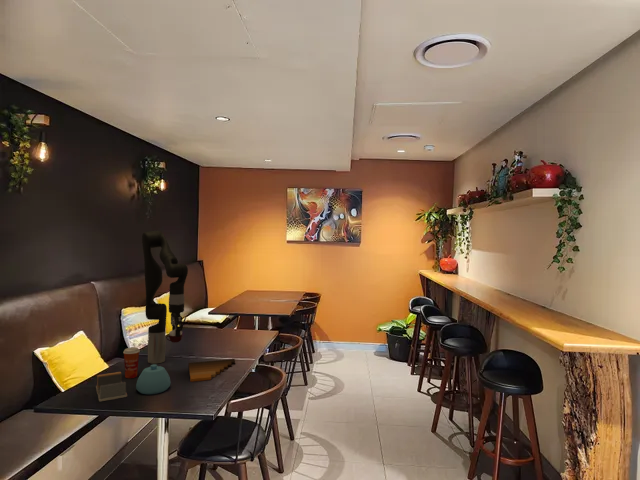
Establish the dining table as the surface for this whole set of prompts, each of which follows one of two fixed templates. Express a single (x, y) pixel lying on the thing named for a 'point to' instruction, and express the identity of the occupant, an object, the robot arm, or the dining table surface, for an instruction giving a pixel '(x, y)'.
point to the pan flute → (208, 369)
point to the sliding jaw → (108, 378)
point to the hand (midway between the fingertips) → (176, 335)
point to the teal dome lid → (153, 380)
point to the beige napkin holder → (111, 391)
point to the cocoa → (172, 334)
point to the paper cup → (131, 362)
